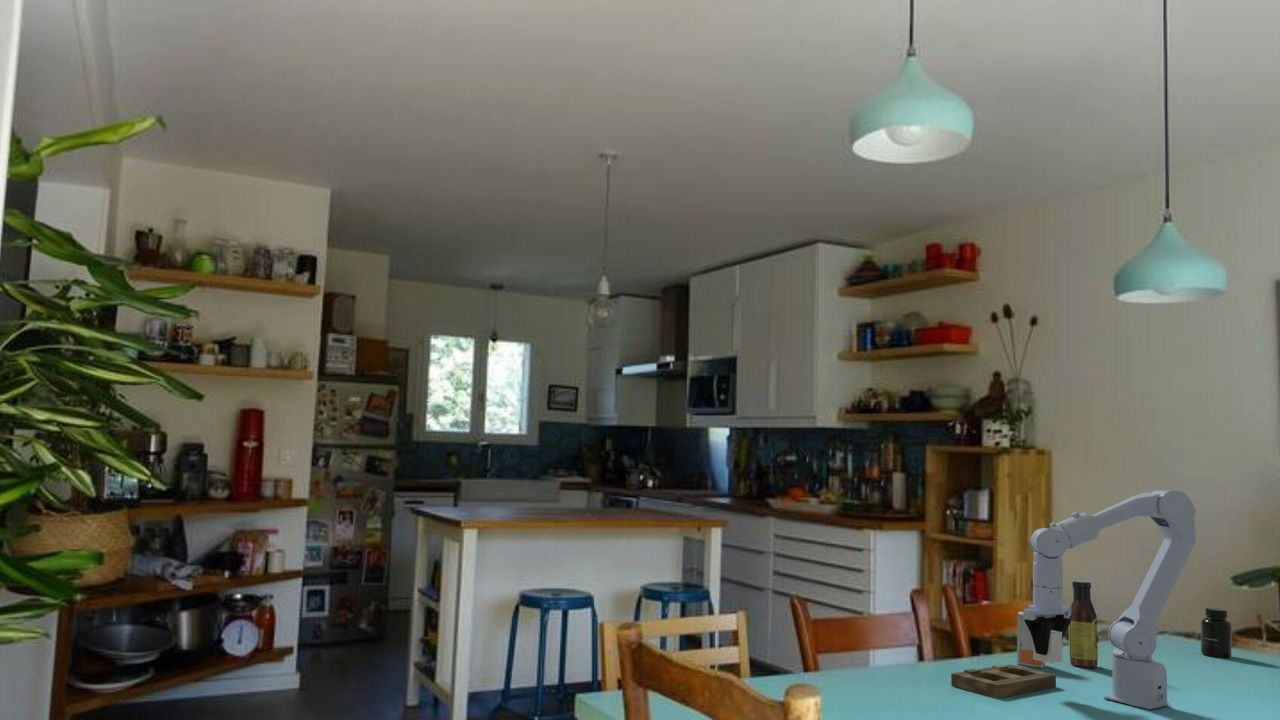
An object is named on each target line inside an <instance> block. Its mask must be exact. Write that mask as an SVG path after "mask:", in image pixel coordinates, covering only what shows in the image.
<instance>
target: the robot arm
mask: <svg viewBox="0 0 1280 720" xmlns="http://www.w3.org/2000/svg"><path fill="white" fill-rule="evenodd" d="M1196 513H1197V509H1196V507H1195V505H1194V503H1193V502H1192V500H1191V498H1190V497H1189V496H1188V495H1187V494H1186V493H1185V492H1183V491H1180V490H1174V489H1172V490H1164V489H1162V488H1161V489H1160V488H1155V489H1151V490H1149V491H1148V492H1142V493H1138V494H1136V495H1133V496H1131V497H1129V498H1127V499H1125V500H1123V501H1120V502H1118V503H1116V504H1114V505H1112V506H1109V507H1107V508H1105V509H1103V510H1101V511H1099V512H1097V513H1095V514H1088V513H1086V512H1080V513H1079V512H1077V511H1075V512H1073V513H1071V514H1070V516H1071V517H1069V518H1066V519H1064V520H1061V521H1058V522H1057V523H1056V522H1050V523H1049V528H1047V527H1041V528H1039V529H1036V530H1035V531H1033V533H1032V534H1031V536H1030V539H1029V541H1028V544H1029V546H1030V548H1031V550H1032V551H1033V555H1032V556H1033V563H1032V604H1028V605H1027V608H1024V609H1023V611H1022V612H1023V619H1025V623H1026V625H1027V627H1028V628H1029V631H1030V633H1031V636H1032V639H1033V643H1034V647H1035V651H1036V653H1037V654H1042V655H1047V652H1048V646H1049V637H1050V633H1051V630H1054V631H1060V632H1062V642H1063V639H1064V636H1065V635H1066V632H1067V630H1068V629H1069V625H1070V623H1071V619H1069V616H1071V607H1070V605H1064V604H1063V603H1064V599H1063V598H1064V593H1063V590H1064V589H1063V586H1064V585H1063V581H1064V580H1063V579H1064V578H1063V574H1064V573H1063V572H1064V571H1063V570H1064V569H1063V555H1065V553H1066V551H1067V550H1071V549H1073V548H1076V547H1078V546H1081V545H1083V544H1085V543H1088V542H1090V541H1092V540H1095V539H1097V538H1098V536H1099V534H1100V532H1101V530H1103V529H1105V528H1108V527H1111V526H1113V525H1116V524H1119V523H1121V522H1125V521H1127V520H1130V519H1132V518H1135V517H1149V518H1151V520H1152V521H1153V522H1154V523H1156V525H1157V526H1158V528H1159V530H1160V532H1161V535H1162V537H1163V540H1162V543H1161V545H1160V547H1159V549H1158V551H1157V553H1156V555H1155V557H1154V559H1153V561H1152V563H1151V564H1150V567H1149V569H1148V571H1147V573H1146V576H1145V577H1144V579H1143V581H1142V583H1141V585H1140V587H1139V589H1138V591H1137V593H1136V594H1135V597H1134V599H1133V601H1132V603H1131V605H1130V606H1129V607H1127V608H1126V609H1125V610H1124V611H1122V613H1121V615H1120V616H1119V618H1118V619H1117V620H1116V621H1114V622H1112V623H1111V625H1110V626H1109V628H1108V631H1107V637H1108V639H1109V642H1110V644H1111V645H1112V646H1113V650H1112V653H1111V656H1112V657H1111V660H1112V664H1111V668H1112V670H1111V671H1112V676H1111V677H1112V678H1111V679H1112V680H1111V681H1112V693H1110V694H1106V695H1103V699H1106V700H1110V701H1114V702H1117V703H1122V704H1127V705H1128V706H1129V705H1130V706H1134V707H1138V708H1143V709H1146V710H1153V709H1158V708H1162V707H1166V706H1169V705H1170V702H1168V676H1167V674H1168V673H1167V669H1166V666H1165V665H1164V664H1163V663H1162V662H1158V661H1155V660H1154V659H1153V656H1152V655H1153V654H1155V652H1156V650H1157V637H1158V634H1159V632H1160V623H1159V617H1160V616H1161V613H1162V611H1163V609H1164V607H1165V606H1166V603H1167V601H1168V600H1169V597H1170V595H1171V594H1172V591H1173V589H1174V587H1175V585H1176V583H1177V581H1178V580H1179V577H1180V576H1181V573H1182V572H1183V569H1184V567H1185V565H1186V563H1187V561H1188V559H1189V557H1190V555H1191V553H1192V551H1193V549H1194V547H1195V545H1196V541H1197V533H1196V521H1195V516H1196Z"/></svg>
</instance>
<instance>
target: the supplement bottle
mask: <svg viewBox="0 0 1280 720" xmlns="http://www.w3.org/2000/svg"><path fill="white" fill-rule="evenodd" d="M1204 615H1205V616H1206V617H1203V618H1202V619H1201V621H1200V652H1201V654H1202V655H1204V656H1207V657H1211V658H1216V659H1230V658H1231V657H1232V651H1233V650H1232V648H1233V647H1232V642H1233V641H1232V629H1233V628H1232V624H1231V622H1230V621H1228V620H1227V619H1228V611H1227V610H1226V609H1223V608H1217V607H1206V608H1205V613H1204Z"/></svg>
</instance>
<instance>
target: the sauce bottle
mask: <svg viewBox="0 0 1280 720" xmlns="http://www.w3.org/2000/svg"><path fill="white" fill-rule="evenodd" d="M1091 588H1092V584H1091V582H1090V581H1085V580H1072V589H1073V597H1072V598H1073V601H1072V603H1071V604H1070V605H1069V607H1071V616H1068V618H1069V619H1071V623H1070V625H1069V626H1068V652H1069V654H1068V655H1069V663H1070V664H1071V665H1072V666H1075V667H1078V668H1088V669H1089V668H1090V669H1091V668H1092V669H1093V668H1096V667H1098V660H1099V654H1098V653H1099V651H1098V648H1099V647H1098V645H1099V644H1098V641H1099V640H1098V616H1097V613H1096V610H1095V608H1094V605H1093V601H1092V598H1091Z"/></svg>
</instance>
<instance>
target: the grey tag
mask: <svg viewBox="0 0 1280 720" xmlns="http://www.w3.org/2000/svg"><path fill="white" fill-rule="evenodd" d="M977 669H978V668H977ZM977 669H976V668H969V669H964V670H963V672H966V673H970V674H974V673H980V672H981V670H977Z"/></svg>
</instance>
